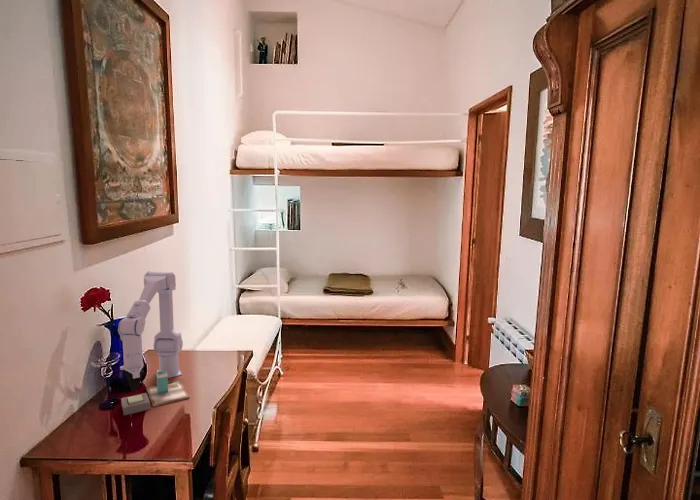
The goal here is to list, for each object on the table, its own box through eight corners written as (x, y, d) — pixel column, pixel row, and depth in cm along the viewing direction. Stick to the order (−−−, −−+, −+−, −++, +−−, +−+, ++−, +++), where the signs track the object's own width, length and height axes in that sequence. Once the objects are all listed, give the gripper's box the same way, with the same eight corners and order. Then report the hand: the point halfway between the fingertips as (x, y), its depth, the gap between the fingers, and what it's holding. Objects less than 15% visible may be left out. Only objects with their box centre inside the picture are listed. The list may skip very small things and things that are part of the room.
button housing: (121, 405, 146) (121, 398, 146) (146, 399, 151) (146, 392, 150) (123, 415, 140) (123, 408, 139) (150, 409, 144) (149, 401, 144)
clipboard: (146, 389, 159) (146, 386, 158) (179, 381, 165) (179, 378, 165) (153, 407, 145) (152, 403, 145) (189, 398, 152) (189, 395, 152)
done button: (127, 404, 146) (127, 397, 145) (141, 401, 148) (141, 394, 148) (129, 410, 142) (128, 402, 142) (143, 406, 144) (143, 399, 144)
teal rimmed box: (157, 390, 156) (156, 372, 155) (166, 388, 157) (165, 370, 157) (158, 394, 153) (157, 375, 152) (168, 391, 155) (167, 373, 154)
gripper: (117, 347, 146) (119, 384, 148) (121, 362, 134) (124, 402, 136) (139, 344, 150) (141, 380, 152) (145, 357, 138) (147, 396, 140)
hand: (135, 390), depth 144 cm, fingers closed
